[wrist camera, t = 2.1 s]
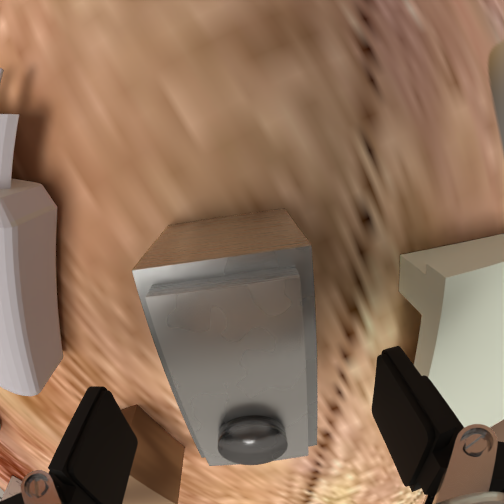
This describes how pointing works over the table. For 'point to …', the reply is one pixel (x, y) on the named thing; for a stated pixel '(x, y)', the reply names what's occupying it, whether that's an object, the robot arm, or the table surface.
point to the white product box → (12, 488)
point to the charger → (26, 276)
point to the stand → (461, 324)
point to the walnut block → (153, 462)
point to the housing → (236, 333)
